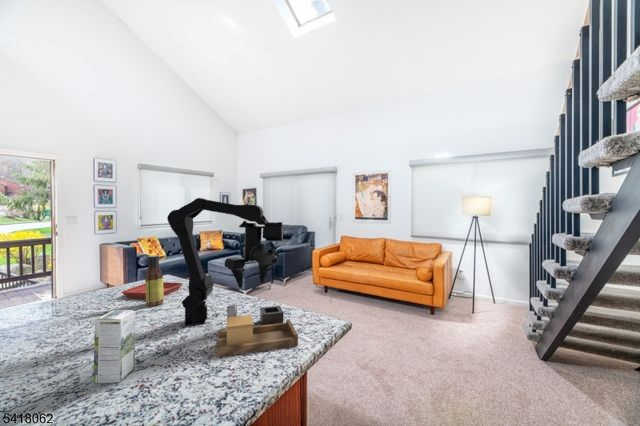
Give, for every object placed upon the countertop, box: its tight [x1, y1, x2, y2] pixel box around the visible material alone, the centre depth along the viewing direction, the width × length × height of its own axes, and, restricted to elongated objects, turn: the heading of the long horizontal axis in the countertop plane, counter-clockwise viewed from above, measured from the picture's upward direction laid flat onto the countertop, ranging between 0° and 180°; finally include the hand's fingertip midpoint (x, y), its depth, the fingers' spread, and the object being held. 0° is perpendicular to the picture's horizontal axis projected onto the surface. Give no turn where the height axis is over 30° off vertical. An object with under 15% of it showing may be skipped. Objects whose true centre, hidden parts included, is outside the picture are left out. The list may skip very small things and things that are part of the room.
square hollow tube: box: [259, 305, 284, 326], centre depth 96 cm, size 7×7×4 cm
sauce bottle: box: [144, 254, 165, 307], centre depth 114 cm, size 6×6×20 cm
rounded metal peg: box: [226, 304, 238, 318], centre depth 92 cm, size 3×3×7 cm
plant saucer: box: [121, 281, 184, 299], centre depth 129 cm, size 18×18×3 cm
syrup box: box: [92, 309, 137, 384], centre depth 65 cm, size 6×6×14 cm
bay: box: [216, 318, 299, 358], centre depth 82 cm, size 22×12×3 cm, turn 108°
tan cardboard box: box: [225, 314, 254, 346], centre depth 81 cm, size 7×7×6 cm
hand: (251, 285), depth 97 cm, fingers open, 9 cm apart
